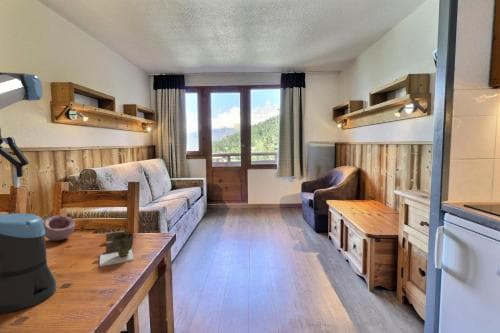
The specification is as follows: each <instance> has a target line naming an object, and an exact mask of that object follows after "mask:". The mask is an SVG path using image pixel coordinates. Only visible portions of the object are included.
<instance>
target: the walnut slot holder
mask: <svg viewBox="0 0 500 333" xmlns="http://www.w3.org/2000/svg"><path fill="white" fill-rule="evenodd" d="M122 232H124V233H125V231H124V229H123V230H118V231H110V232H105V254H107V253H113V252H116V251H115V249H114V247H113V242H112V235H113V236H114V235H115V236H118V233H120V234H121V233H122Z"/></svg>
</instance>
